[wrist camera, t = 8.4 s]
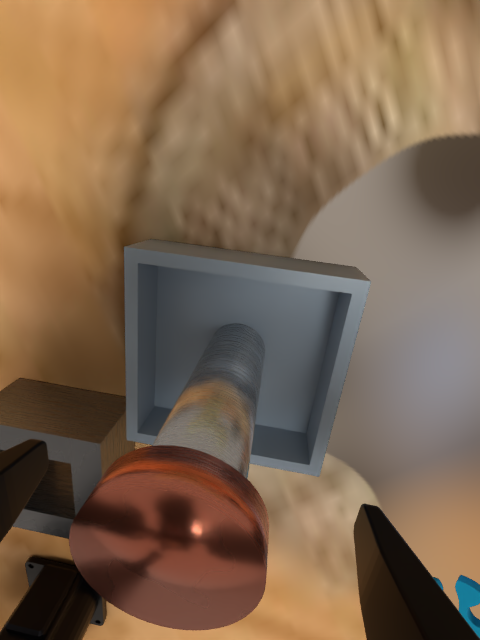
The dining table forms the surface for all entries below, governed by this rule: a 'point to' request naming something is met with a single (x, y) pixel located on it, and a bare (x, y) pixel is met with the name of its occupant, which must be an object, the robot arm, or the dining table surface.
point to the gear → (467, 600)
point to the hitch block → (63, 446)
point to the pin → (186, 503)
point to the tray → (256, 312)
